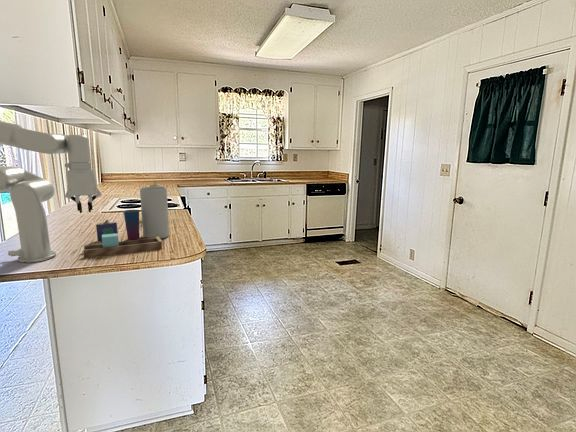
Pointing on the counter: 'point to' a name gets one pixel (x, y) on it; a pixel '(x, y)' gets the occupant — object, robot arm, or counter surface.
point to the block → (110, 240)
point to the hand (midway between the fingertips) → (85, 211)
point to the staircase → (156, 185)
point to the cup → (132, 224)
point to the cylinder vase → (154, 212)
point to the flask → (106, 229)
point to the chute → (122, 247)
